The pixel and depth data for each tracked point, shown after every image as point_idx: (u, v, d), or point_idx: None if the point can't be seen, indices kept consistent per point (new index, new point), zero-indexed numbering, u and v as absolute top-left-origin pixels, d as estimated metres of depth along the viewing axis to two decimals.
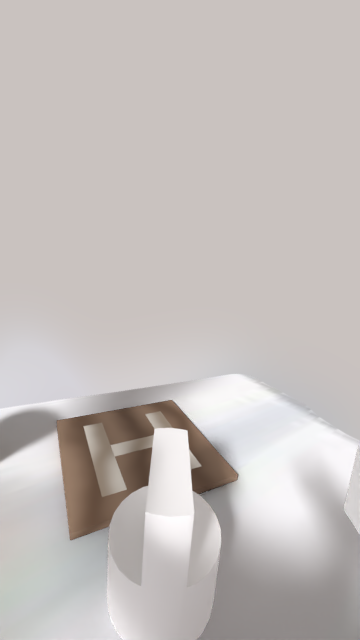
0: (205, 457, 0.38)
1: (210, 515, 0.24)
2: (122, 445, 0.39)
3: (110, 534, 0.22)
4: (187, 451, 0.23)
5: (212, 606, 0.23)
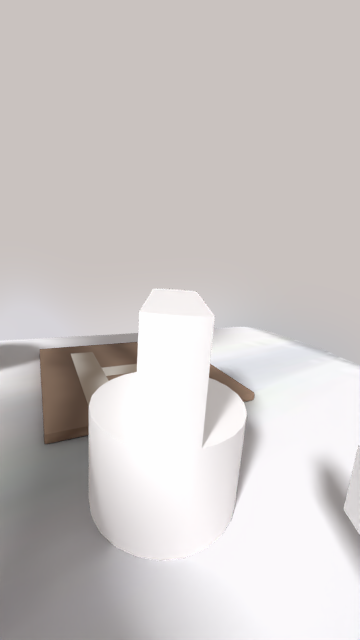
0: (214, 379, 0.32)
1: (228, 393, 0.18)
2: (115, 368, 0.33)
3: (92, 402, 0.16)
4: (198, 296, 0.17)
5: (233, 508, 0.16)
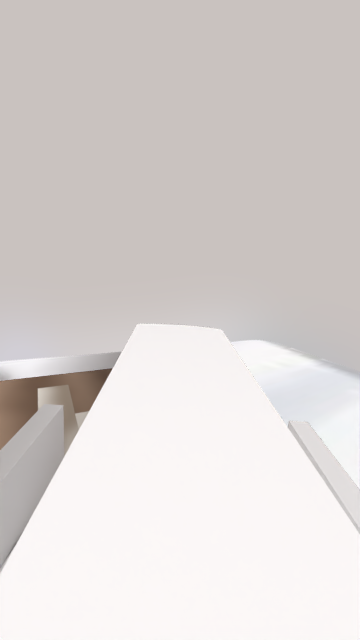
0: None
1: None
2: None
3: None
4: (234, 355, 0.07)
5: None
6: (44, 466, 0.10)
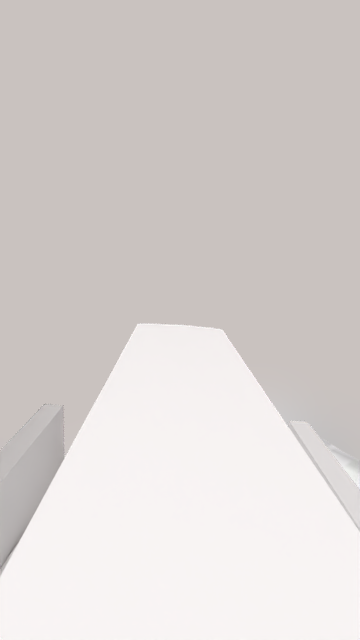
0: None
1: None
2: None
3: None
4: (235, 355, 0.07)
5: None
6: (44, 466, 0.10)
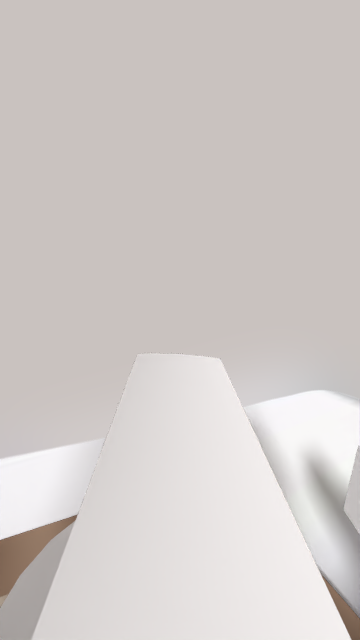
0: None
1: None
2: None
3: None
4: (232, 395, 0.07)
5: None
6: None
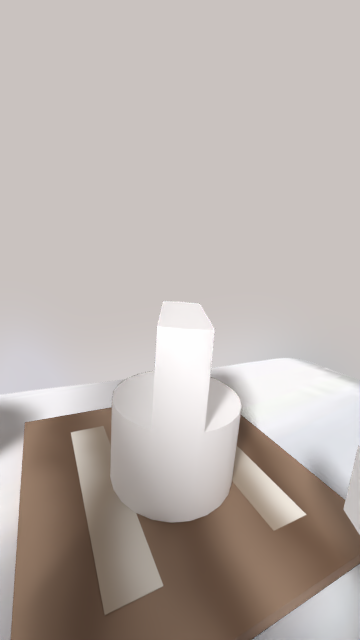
0: (304, 493, 0.20)
1: (226, 390, 0.21)
2: None
3: (114, 397, 0.19)
4: (201, 309, 0.20)
5: (230, 485, 0.20)
6: None
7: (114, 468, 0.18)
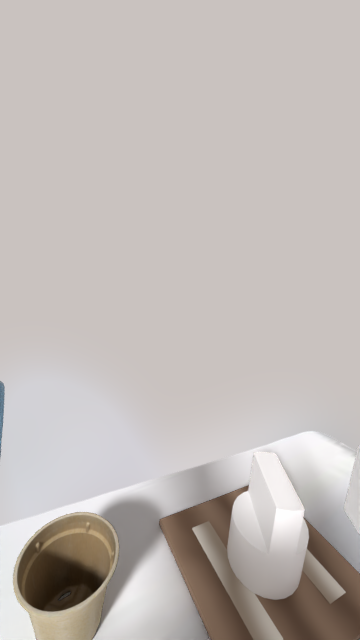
0: (343, 576, 0.34)
1: None
2: None
3: (236, 523, 0.34)
4: (283, 469, 0.35)
5: None
6: None
7: (238, 565, 0.33)
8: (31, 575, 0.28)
